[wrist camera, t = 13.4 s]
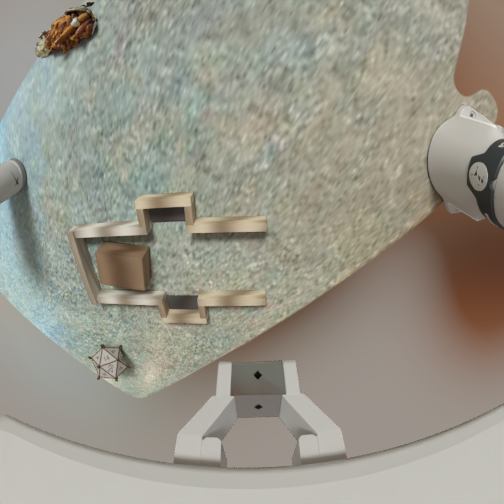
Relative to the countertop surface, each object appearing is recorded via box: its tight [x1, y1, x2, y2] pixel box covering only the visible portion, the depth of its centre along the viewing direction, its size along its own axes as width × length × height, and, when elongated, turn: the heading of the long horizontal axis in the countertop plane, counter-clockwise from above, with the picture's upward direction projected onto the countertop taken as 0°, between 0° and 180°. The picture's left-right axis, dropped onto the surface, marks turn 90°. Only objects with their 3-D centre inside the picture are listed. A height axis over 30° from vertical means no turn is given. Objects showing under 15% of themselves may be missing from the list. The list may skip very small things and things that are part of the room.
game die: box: [88, 344, 131, 381], centre depth 53 cm, size 9×8×10 cm
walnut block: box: [95, 241, 151, 291], centre depth 43 cm, size 8×6×4 cm
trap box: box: [67, 192, 267, 324], centre depth 43 cm, size 31×22×3 cm
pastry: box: [36, 0, 97, 58], centre depth 24 cm, size 7×12×4 cm, turn 106°
